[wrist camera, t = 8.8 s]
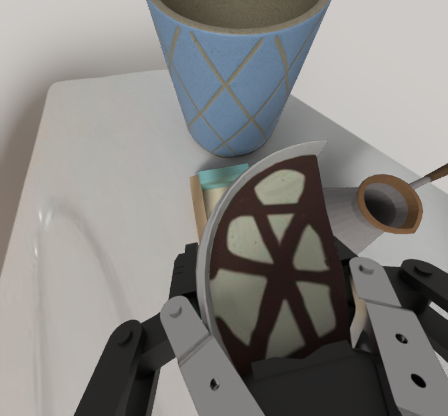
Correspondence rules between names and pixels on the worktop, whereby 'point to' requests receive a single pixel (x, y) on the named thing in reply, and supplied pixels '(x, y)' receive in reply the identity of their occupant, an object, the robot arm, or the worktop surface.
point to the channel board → (211, 191)
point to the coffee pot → (376, 208)
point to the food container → (272, 263)
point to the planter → (234, 64)
